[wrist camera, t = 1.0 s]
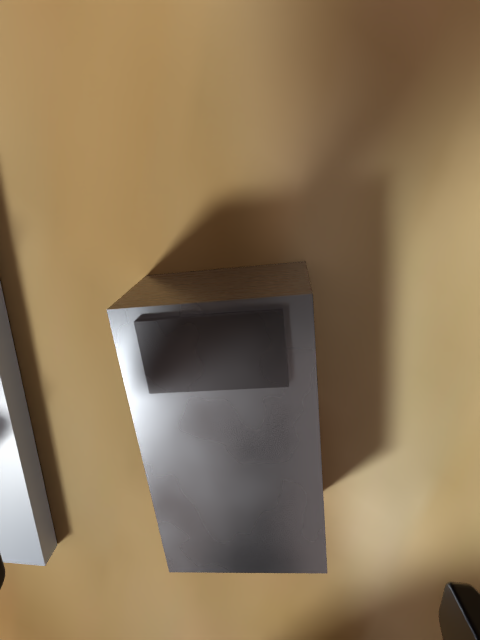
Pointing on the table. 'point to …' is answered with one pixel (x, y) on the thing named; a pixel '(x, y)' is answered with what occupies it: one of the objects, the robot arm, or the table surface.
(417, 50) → the table surface
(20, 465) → the pin cradle
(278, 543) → the block
